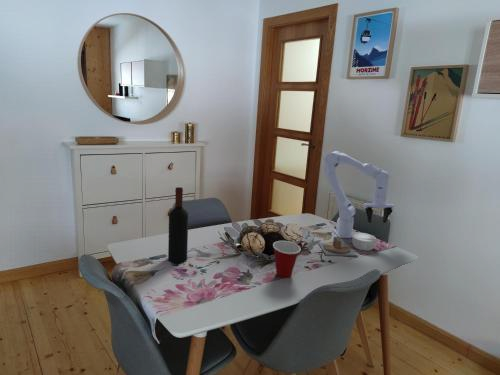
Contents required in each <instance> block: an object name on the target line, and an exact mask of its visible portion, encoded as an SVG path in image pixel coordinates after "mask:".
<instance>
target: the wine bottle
mask: <svg viewBox="0 0 500 375" xmlns="http://www.w3.org/2000/svg"><path fill="white" fill-rule="evenodd" d="M174 192H175V194H174V195H175V198H174V199H175V200H174V201H175V203H174V204H175V205H174V208H172V209H171V210H170V212H169V214H168V249H167V250H168V253H167V254H168V258H167V260H168V261H169V263H171V264H172V263H173V264H183V263H186V262H187V260H188V238H189V213H188V211H187V210H186V208H184V207H183V202H184V201H183V200H184V199H183V195H184V188H183V187H180V186H177V187H175V191H174Z"/></svg>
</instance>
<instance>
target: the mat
mask: <svg viewBox="0 0 500 375" xmlns="http://www.w3.org/2000/svg"><path fill="white" fill-rule="evenodd" d="M324 243H325V242H317V244H318V246H319V248H321V250H322V251H323V253H324V254H325V256H327V257H328V256H330V257H331V256H333V257H334V256H335V257H339V256H340V257H357V254H356V252H354V250H353V249H352V248H351V247H350V246H349V245H348V244H347V242H341V243H342V244H345V245H347V246H348V247H349V248H350V251H349V252H348V253H344V254H338V253H333V252H329V251H327V250H325V249H324V247H323V246H324Z"/></svg>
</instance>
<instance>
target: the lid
mask: <svg viewBox="0 0 500 375" xmlns="http://www.w3.org/2000/svg"><path fill="white" fill-rule="evenodd" d="M323 243H324V246H323V247H324V249H325V250H327V251H329V252H333V253H338V254H344V253H348V252H349V251H350V248H351V247H350V246H349V245H348V244H347V245H348V246H349V247H350V248H349V247H348V246H347V245H345V244H342V243H343V242H342V240H341V238H340V237H339V236H333V241H328V242H323Z"/></svg>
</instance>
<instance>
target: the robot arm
mask: <svg viewBox="0 0 500 375" xmlns="http://www.w3.org/2000/svg"><path fill="white" fill-rule="evenodd" d="M323 162H324V166H323V173H324V176H325V177H326V179H327V182H328V184H329V186H330V189H331V191H332V192H333V193H332V194H333V195H334V198H335V201H336V202H337V209H338V211H339V212H338V215H339V217H338V218H337V220H336V227H335V230H333V232H334V233H335V235H337V237H339V238H340V239H341V238H342V239H353V238H352V235H353V230H354V229H353V228H354V222H355V218H354V216H355V215H356V212H357V211H356V207H355V206H354V205H353V204H352V203H351V201H350V200H349V199H348V197H347V195H346V192H345V191H344V188H343V186H342V183H341V182H340V179H339V178H338V175H337V173H336V170H337V167H338V165H339V164H346V165H349V166H351V167H353V168H356V169H358V170H360V172H361V174H362V175H364V176H366V177H369V178H370V179H372V180H374V181H375V185H374V192H373V202H368V203H367V202H366V203H363V208H364V210H365V212H366V216H367V222H368V223H369V224H370V223H372V218H373V213H374V210H373V209H382V210H383V215H382V216H383V217H382V222H383V223H384V224H387V221H388V219H389V218H390V217H389V216H390V215H391V214H392V213H393V209H395V204H393V203H387V194H388V188H389V186H388V185H389V180H390V173H389V171H387V170H386V169H382V168H381V167H379V168H378V167H376V166H374V165H373V163H372V162H370V163H368V162H366V163H363V162H361V161H359V160H358V159H355V158H353V157H351V156H350V155H348V154H346V153H345V152H341V151H339V150H334V151H333V152H329V153H327V154H326V155H325V158H324V160H323Z"/></svg>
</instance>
